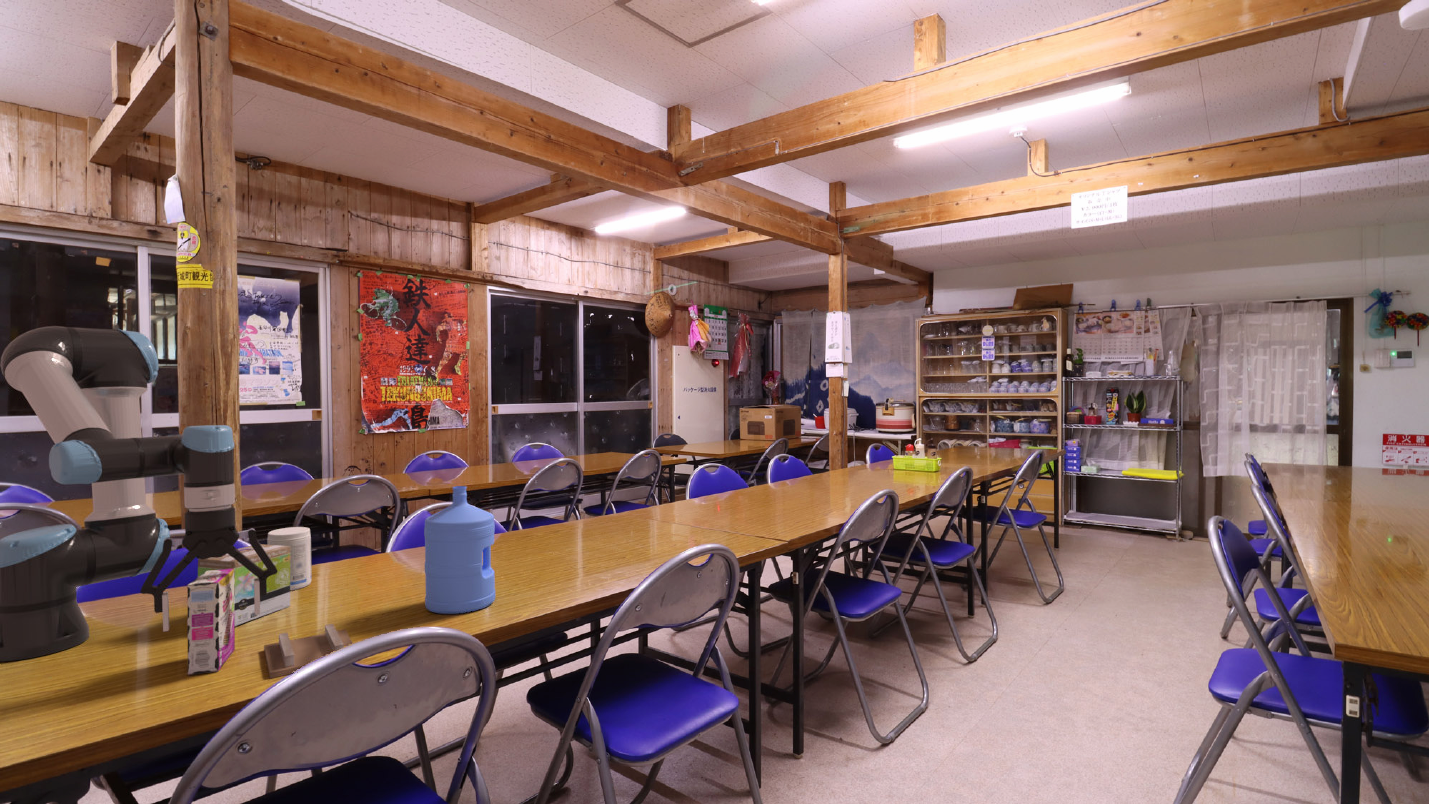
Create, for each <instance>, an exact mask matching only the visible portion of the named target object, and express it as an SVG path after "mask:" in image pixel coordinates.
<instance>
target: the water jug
mask: <svg viewBox="0 0 1429 804" xmlns="http://www.w3.org/2000/svg"><path fill="white" fill-rule="evenodd" d="M467 488H468V487H467V486H466V485H459V486H458V485H456V486H452V488H451V489H452V491H453V492H452V503H451V505H449V506H447V507H445V508H443V509H441V510H439V511H437V512H435V513H433V514H432V515H430V516H427V517H426V519H425V520H424V527H423V531H424V532H423V534H424V536H423V537H424V550H425V551H424V574H425V598H424V606H425V608H426V610H428V611H429V612H431V613H434V614H440V615H459V613H460V614H464V613H465V614H466V612H467V613H471V611H472V612H476V611H480V610H482V609H485V608H486V607H488V606H490V605H491V604H493V603H494V601H495V600H496V588H495V587H496V585H495V584H496V582H495V580H496V579H495V575H496V574H495V570H494V569H493V568H492V566H491V565H492V563H491V562H492V561H491V559H492V558H491V556H492V555H491V554H492V553H491V551H492V550H491V546H492V545H494V544H495V531H496V527H495V526H496V525H495V524H496V523H495V515H494V514H493V513H491V512H490V511H486V510H484V509H481V508H480V507H476V506H475V505H471V504H469V503H468V500H467V496H468V494H467ZM479 609H480V610H479Z"/></svg>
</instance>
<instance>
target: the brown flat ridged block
mask: <svg viewBox="0 0 1429 804" xmlns="http://www.w3.org/2000/svg"><path fill="white" fill-rule="evenodd" d="M352 643H353V641H352V639H351V637H350V636H349V634H348V632H347V630H346V629H341V630H337V629H336V627H335V625H334V623H329V624H325V625H324V633H321V634H315V635H310V636H305V637H300V638H295V639H290V637H289V634H288V632H282V633H279V634H278V642H274V643H270V644H269V643H268V644H264V645H263V646H264V647H263V649H264V655H265V662H266V666H267V670H268V675H269V679H274V678H279V677H282V676H283V677H284V676H288V675H292V674H291V673H292V672H293V671H296V670H297V669H300V668H301V667H302V666H305V665H306V664H308V663H310V662H311V661H313V660H315V659H318V658H320V657H321V656H325V655H326V654H330V653H331V652H333V651H337V650H339V649H341V648H343V647H344V646H348V645H349V644H352Z"/></svg>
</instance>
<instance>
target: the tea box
mask: <svg viewBox="0 0 1429 804" xmlns="http://www.w3.org/2000/svg"><path fill="white" fill-rule="evenodd" d="M260 545H261V546H262V547H263V549H264V550H265V552H266V553H267V555H268V556H269V558H270V559H271V561H272V562H273V564H274V565H275V566H276V568H277V573H276V574H274V575H271V576H269V577H268V578H267V580H266V584H267V593H266V595H264V596H260V615H255V602H254V578H258V577H257V576H255V575H254V574H253V573H252V572H250V571H249V570H248V569H247V568H245V567H244V566H243V565H242V564H240V563H239V562H238V561H237V560H235V559H234V558H233V557H231V556H230V555H229V554H226V555H224V556H222V557H218V558H216V557H211V558H208V559H203V560H201V559H198V558H197V578H198V577H199V576H200V575H202V574H203V573H204V572H206V571H210V570H220V569H235V609H234V612H235V618H234V619H235V627H238V626H240V625H242V624H244V623H248V622H249V621H253V620H255V619H258V618H261V617H264V616H267V615H271V614H272V613H276V612H278V611H282V610H284V609H287V608H290V606H291V590H290V546H279V545H268V544H262V543H260ZM237 549H238V550H239V551H240V552H241V553H242V554H244V555H245V556H246V557H247V558H248V559H250V560H251V561H252V562H253V563H255V564H256V565H257V566H258V567H260V568H261V569H262V570H263V571H264V570H266V569H267V568H266V566H265V565H264V563H263V562H262V560H261V559H260V558H259V556H258V555H257V553H256V552H255V550H254V549H253V547H252V546H251V545H248V546H245V547H239V548H237Z"/></svg>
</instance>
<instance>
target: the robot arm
mask: <svg viewBox="0 0 1429 804" xmlns="http://www.w3.org/2000/svg"><path fill="white" fill-rule="evenodd" d="M156 351H157V350H156V348H155V346H154V344H153V343H152V341H151V340H150V339H149V338H148V337H147V336H146V335H145V334H143V333H141V332H139V331H134V330H133V331H132V330H122V329H120V328H118V329H116V328H115V329H114V328H113V329H112V328H111V329H110V328H92V327H91V328H89V327H74V326H73V327H71V326H70V327H69V326H68V327H67V326H58V325H52V326H50V325H49V326H41V327H38V328H35V329H34V328H33V329H31V330H28V331H26V332H24V333H22V334H20V335H18V336H17V337H15V339H13V340H12V341H10V343H9V344H8V345H7V346H6V347H5V348H4V350H3V352H2V355H1V357H0V370H1V373H2V375H3V377H4V379H5V381H6V382H7V384H8V385H9V386H11V388H13V389H15V390H17V391H19V392H21V393H22V394H23V396H24V397H25V399H26V400H27V402H28V404H29V405H30V407H31V409H32V410H33V411H34V413H35V415H36V416H37V418H38V419H39V421H40V422H41V425H43V427H44V429H45V430H46V432H47V433H48V435H49V437H50V438H51V440H52V441H53V443H54V444H53V445H52V446H51V449H50V451H49V453H48V454H49V455H48V467H49V470H50V474H51V477H52V479H53V480H54V481H55V482H57V483H58V484H61V485H76V484H77V485H78V484H82V485H90V484H91V492H92V508H93V509H92V512H91V513H90V514H89V515H87V517H85V518H84V520H83V521H84V523H83V524H84V528H82V529H77V528H76V527H75V526H74V525H73V524H70V523H64V524H61V523H60V524H55V525H47V526H46V525H45V526H41V527H36V528H31V529H27V530H23V531H22V530H21V531H19V532H15V533H12V534H9V535H7V536H4V537H2V538H1V539H0V662H12V661H20V660H27V659H31V658H38V657H42V656H46V655H51V654H54V653H58V652H61V651H64V650H67V649H71V648H73V647H76V646H78V645H81V644H82V643H85V641H87V640H89V638H90V625H89V624H88V622H87V620H86V618H85V616H84V613H83V612H82V610H81V607H80V606H79V603H78V601H77V599H78V598H77V588H78V587H79V588H80V587H83V586H87V585H89V586H90V585H94V584H98V583H103V582H109V581H114V580H119V579H122V578H127V577H129V578H133V577H137V576H139V575H143V574H147V573H149V574H148V575H147V577H146V578H145V581H144V582H143V584H142V586H141V588H140V591H139V592H140V593H141V594H143V595H146V594H147V595H152V596H153V607H154V608H153V609H154V613H155V614H160V613H162V632H163V633H164V632H169V630H170V606H169V605H170V604H169V603H170V599H169V595H170V594H169V590H168V591H166V590H167V588H168V587H170V585H172V583H173V582H174V581H175V580H176V579H177V578H178V577H179V576H180V575H181V573H182V572H183V571H184V570H185V569H186V568H187V567H188V566H189V565H190V564H191V563H192V562H193V561H194V560H195V558H196V559H197V560H198V559H201V560H203V559H208V558H211V557H216V558H218V557H222V556H224V555H226V554H229V555H230V556H231V557H233V558H234V559H235V560H237V561H238V562H239V563H240V564H242V565H243V566H244V567H245V568H247V569H248V570H249V571H250V572H252V573H253V574H254V575H255V576H257V577H258V578H254V602H255V615H260V596H264V595H266V593H267V584H266V580H267V578H268V577H269V576H271V575H274V574H276V573H277V568H276V566H275V565H274V564H273V562H272V561H271V559H270V558H269V556H268V555H267V553H266V552H265V550H264V549H263V547H262V546H261V545H260V544H261V543H260V542H259V540H258V537H257V532H256V530H255V528H253V527H250V528H248V529H247V530H246V529H245V530H241V531H238V530H237V528H236V521H237V520H236V508H235V507H234V506H232V505H234V504H235V503H236V492H235V491H236V488H235V486H236V485H235V450H234V449H235V442H234V436H233V435H234V434H233V433H234V432H233V429H232V427H231V426H229V425H226V424H219V425H217V424H216V425H215V424H210V425H208V424H206V425H190V426H185V428H184V429H183V431H182V434H180V433H179V434H168V435H165V436H164V435H163V436H161V435H160V436H145V437H143V436H142V434H143V433H142V419H141V418H142V417H141V405H140V403H141V402H140V398H141V396H143V395H144V394H145V393H146V392H147V391H148V389H149V388H148V384H150V383H153V382H154V381H156V379H157V377H158V373H159V372H158V371H159V368H160V367H159V360H158V359H159V358H158V354H157V352H156ZM176 475H177V476H178V475H183V493H184V508H185V509H187V511H186V512H185V513H184V532H185V533H184V537H183V538H182V537H181V538H179V537H178V538H172V537H171V536H170V529H169V528H168V523H167V521H166V520H165V519H162V518H159V517H157V515H156V514H157V513H156V510H155V509H153V508H152V507H150V506H148V504H147V497H146V482H145V481H146V480H145V478H154V477H155V478H156V477H166V476H176ZM240 538H241V539H243V541H244V542H246V543H248V542H249V545H250V546H252V547H253V549H254V550H255V552H256V553H257V555H258V556H259V558H260V559H261V560H262V562H263V563H264V565H265V566H266V568H267V569H266V570H264V571H263V570H262V569H261V568H260V567H258V566H257V565H256V564H255V563H253V562H252V561H251V560H250V559H248V558H247V557H246V556H245V555H244V554H242V553H241V552H240V551H239V550H238V549H239V548H236V547H235V546H234V545H235V544H237V542H238V540H239V539H240ZM181 545H182V546H183V547H184V548H185V549H186V550H187V551H188V552H186V554H185V555H184V556H183V558H181V560H180V561H179V562H178V563H177V564H176V565H175V566H174V567H173V568H172V569H171V571H170V572H169V573H167V575H166V576H165V577H164V578H163V579H162V580H161V581H160V582H159V583H158V585H153V584H154V583H155V581H156V580H157V578H158V576H159V574H160V573H161V571H162V569H163V567H164V565H165V564H166V562H167V561H168V559H169V558H170V555H171V552H173V551H176V550H177V549H178V547H179V546H181Z"/></svg>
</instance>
